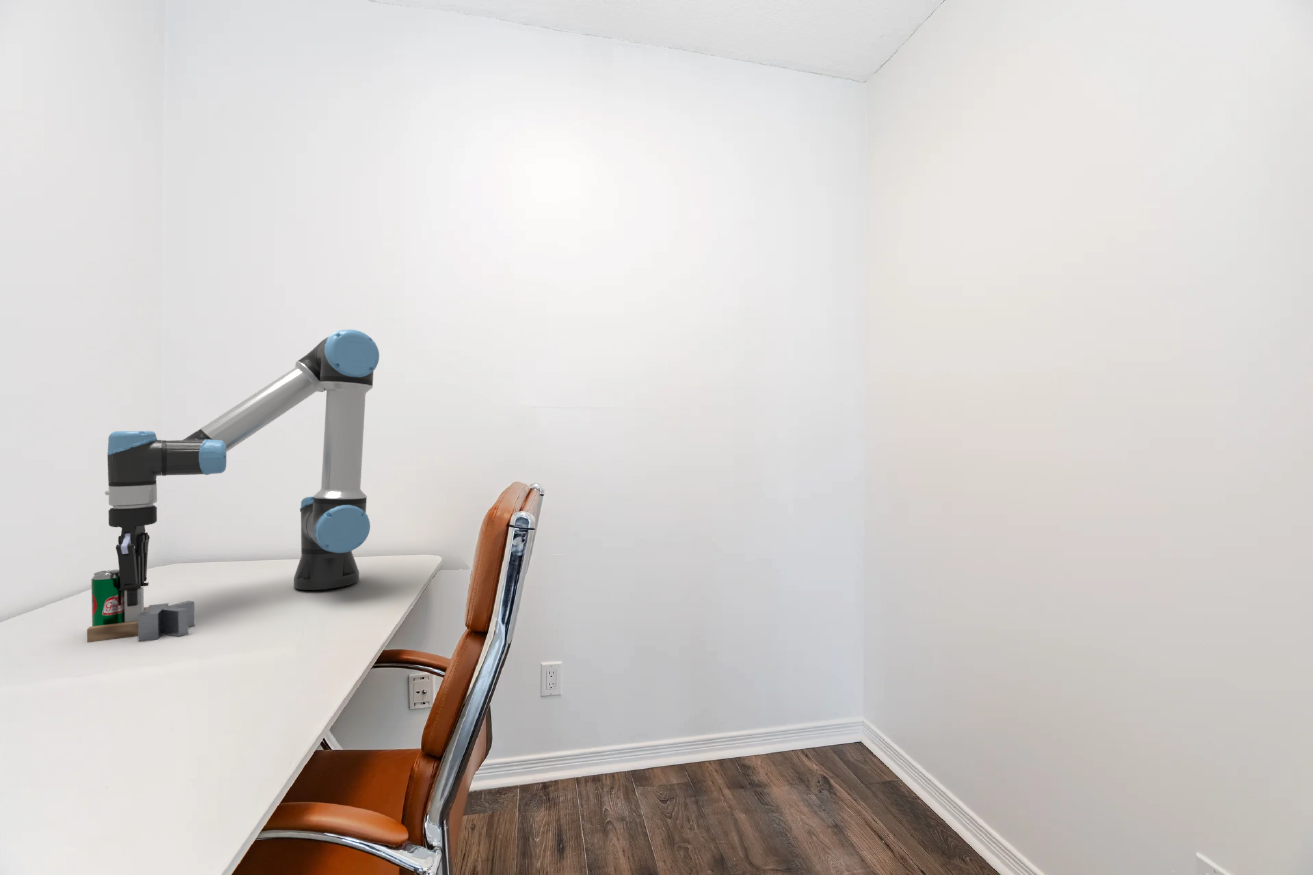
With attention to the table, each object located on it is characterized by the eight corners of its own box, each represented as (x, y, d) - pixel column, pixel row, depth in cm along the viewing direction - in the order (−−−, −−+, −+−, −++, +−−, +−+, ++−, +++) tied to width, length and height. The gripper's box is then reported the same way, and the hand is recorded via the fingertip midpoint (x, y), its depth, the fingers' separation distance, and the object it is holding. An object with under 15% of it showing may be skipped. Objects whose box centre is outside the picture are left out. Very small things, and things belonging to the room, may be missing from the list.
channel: (158, 617, 131) (158, 605, 131) (140, 635, 120) (140, 622, 120) (110, 622, 128) (110, 610, 128) (87, 641, 116) (87, 628, 116)
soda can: (106, 635, 120) (105, 575, 119) (85, 634, 121) (84, 574, 120) (132, 627, 125) (131, 569, 124) (112, 626, 125) (111, 568, 125)
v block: (195, 623, 127) (195, 600, 127) (186, 635, 119) (186, 610, 119) (150, 629, 123) (150, 604, 123) (138, 641, 116) (137, 615, 116)
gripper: (119, 503, 128) (120, 614, 128) (97, 510, 117) (99, 632, 117) (164, 501, 132) (165, 609, 132) (147, 508, 120) (148, 626, 120)
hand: (134, 620), depth 124 cm, fingers closed, pressing on soda can
